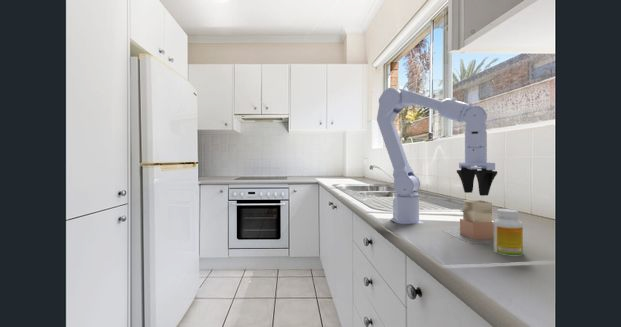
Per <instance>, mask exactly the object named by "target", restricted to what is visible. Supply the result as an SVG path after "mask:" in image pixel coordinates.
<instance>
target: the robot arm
mask: <svg viewBox="0 0 621 327" xmlns="http://www.w3.org/2000/svg"><path fill="white" fill-rule="evenodd" d="M414 105H416V106H419V107H424V108H427V109H430V110H434V111H437V113H438V114H439V116H440V117H441V118H445V119H449V120H452V121H455V122H457V123H465V132H464V162H458V169H456V173H457V175H458V177H459V180H460V181H461V185H462V188H463V191H464V193H467V194H468V193H473V190H474V181H475V178H476V179H477V180H476V181H477V183H478V184H477V186H478V193H479V196H481V197H482V196H483V197H484V196H489V194H490V190H491V186H492V183H493V181H494V179H495V177H496V176H497V175H498V171H496V163H495V162H488V154H487V152H488V146H487V145H488V136H487V135H488V132H487V123H486V121H487V119H488V114H487V111H486V110H485V109H484V108H483V107H481V106H479V105H474V104H473V103H472V102H469V103H466V102H463V101H460V100H459V101H458V99H457V98H456V97H451V98H448V97H447V98H445V99H443V100H439V99H436V98H433V97H430V96H428V95H425V94H421V93H418V92H415V91H411V90H407V89H401V88H399V90H398V88H395V87H388V88H386V89H384V90H383V92H382V93H381V95H380V97H379V98H378V109H377V115H376V122H377V125H378V127H379V130H380V133H381V137H382V139H383V142H384V145H385V148H386V151H387V154H388V156H389V160H390V162H391V165H392V168H393V171H392V172H393V173H392V177H393V180H394V181H393V189H394V190H395V192H396V193H395V196H394V198H393V200H392V217H391V218H390V221H392V222H394V223H395V224H396V223H398V224H401V225H406V224H407V225H408V224H409V225H410V224H411V225H412V224H424V223H425V222H423V221H421V220H420V193H419V192H418V191H419V190H420V186H421V180H420V179H419V177H417V175H415V173H414V170H413V169H412V167H411V166H410V164H409V161H408V159H407V156H406V155H407V154H406V153H405V150H404V147H403V144H402V141H401V139H400V136H399V133H398V130H397V127H396V124H395V121H396V120H395V119H396V118H397V117H398V114H399V113H401V112H402V111H403V110H404V109H405V108H406V107H408V108H409V107H411V106H414ZM475 166H476V167H475Z"/></svg>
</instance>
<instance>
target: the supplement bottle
mask: <svg viewBox="0 0 621 327" xmlns="http://www.w3.org/2000/svg"><path fill="white" fill-rule="evenodd" d="M519 213H520V212H519V210H518V209H510V208H497V209H496V216H497V217H498V218H495V219H494V221H493V222H494V225H493V226H494V243H493V252H494V253H497V254H500V255H503V256H512V257H519V256H520V257H521V256H523V255H524V251H523V250H524V249H523V248H524V246H523V245H524V244H523V243H524V242H523V240H524V238H523V237H524V236H523V234H524V233H523V229H524V228H523V222H521V220H519V219H518V218H519V216H520V214H519Z"/></svg>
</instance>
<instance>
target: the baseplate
mask: <svg viewBox="0 0 621 327" xmlns="http://www.w3.org/2000/svg"><path fill="white" fill-rule="evenodd" d="M442 233H446V234H448V235H449V236H453V238H456V239H459V240H461V241H464V242H465V243H468V244H470V245H482V244H483V245H484V244H485V245H487V244H488V245H490V244H494V239H471V238H469V237H467V236H464V235H462V234H460V229H459V230H458V229H455V230H452V229H451V230H450V229H449V230H442Z"/></svg>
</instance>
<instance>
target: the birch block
mask: <svg viewBox="0 0 621 327" xmlns="http://www.w3.org/2000/svg"><path fill="white" fill-rule="evenodd" d="M462 203H463V204H462V208H463V209H462V217H463V218H462V219H464V220H467V221H470V222H473V223H488V222H493V210H492V209H493V204H492V203H493V202H489V201H485V200H480V199H479V200H463V202H462Z"/></svg>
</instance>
